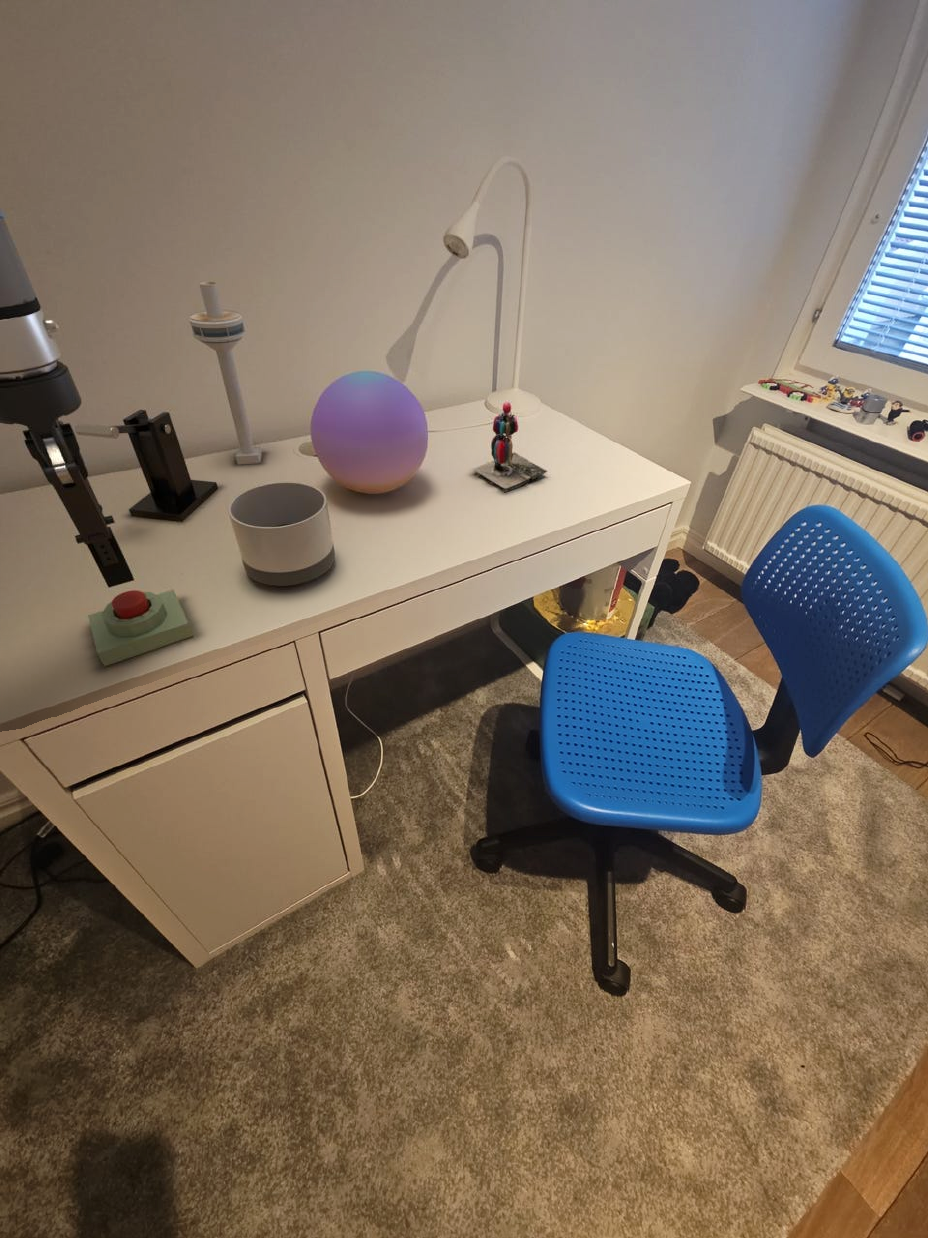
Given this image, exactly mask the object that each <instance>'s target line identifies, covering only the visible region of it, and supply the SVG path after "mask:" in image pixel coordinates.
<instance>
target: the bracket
mask: <svg viewBox="0 0 928 1238" xmlns="http://www.w3.org/2000/svg"><path fill="white" fill-rule="evenodd" d="M146 418H149V416H148V413H147V410H146V409H139V410H137V411H135V412H134V413H132V414H130V415H128V416H126V417H125V418H123V419H122V422H123V425H134V424H137V419H146ZM150 419H151V420H150V421H148V422H147V423H148V426H149V429H150V432H151V435H152V436H142V435H139V432H134V433H127V435H128V438H129V441H130V443H131V445H132V448H133V451H134V453H135V456H136V458H137V461H138V464H139V466H140V469H141V472H142V475H143V476H144V479H145V482H146V484H147V487H148V490H149V493H148V494H147V495H145V496H144V497H143V498H142V499H140V500H139V501H138V502H137V503H135V504H133V505H132V506H131V507H130V508H128V512H129V514H130V516H131V517H139V518H147V519H157V520H164V521H165V520H166V521H172V522H173V521H174V522H183V521H184V520H186V518H187V517H189V515H191V514H192V513H193V512H194V511H195V510H196V509H198V507H199V506H200V505H201V504H202V503H204V502H205V501H206V500H207V499H208V498H209V497H210V496H211V495H212V494H213V493H214V492H216V491H217V490H218V489H219V487H218V483H217V482H216V481H208V480H200V479H199V480H198V479H191V476H190V472H189V469H188V467H187V464H186V461H185V457H184V453H183V451H182V448H181V445H180V441H179V439H178V436H177V432H176V429H175V426H174V424H173V420H172V418H171V414H170V412H169V411H163V412H161V413H159V414H158V415H156V416H155V417H153V418H150Z"/></svg>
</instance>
